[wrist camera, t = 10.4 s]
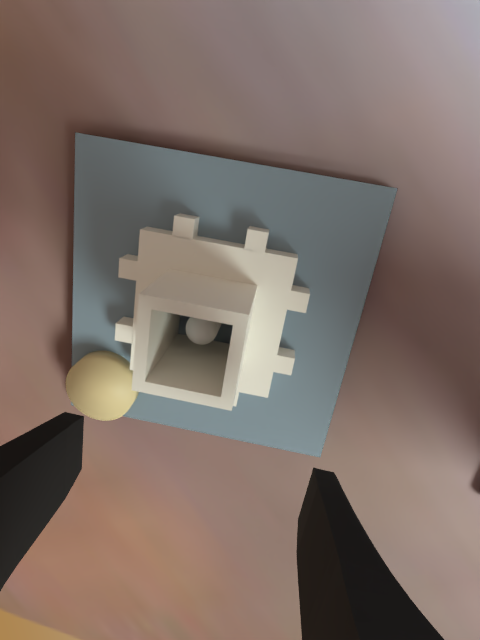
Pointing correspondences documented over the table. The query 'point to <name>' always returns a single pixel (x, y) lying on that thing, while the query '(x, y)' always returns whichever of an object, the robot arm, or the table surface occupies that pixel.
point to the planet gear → (208, 313)
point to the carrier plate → (229, 225)
